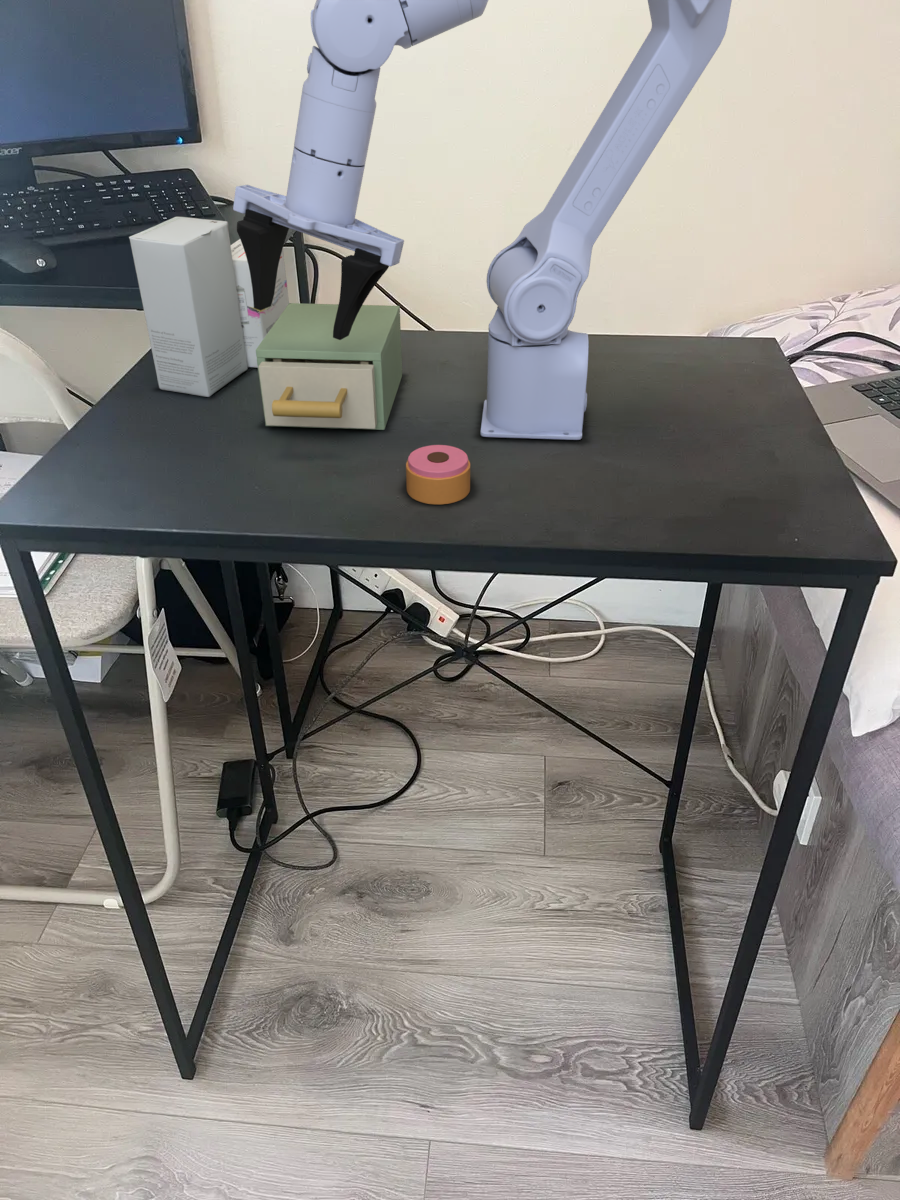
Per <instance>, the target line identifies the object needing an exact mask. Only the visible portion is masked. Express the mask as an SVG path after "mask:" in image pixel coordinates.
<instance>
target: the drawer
mask: <svg viewBox="0 0 900 1200" xmlns="http://www.w3.org/2000/svg"><path fill="white" fill-rule="evenodd" d="M259 374H260V380H259V383H260V382H261V388H260V391H261V390H262V395H261V398H262V397H263V403H262V406H263V405H264V410H263V413H264V412H265V418H264V421H265V420H266V425H274V426H273V427H279V426H304V427H303V428H309V427H335V428H334V429H340V428H365V429H364V430H370V429H375V428H376V425H377V412H376V394H375V375H374V365H373V361H356V360H319V359H283V358H273V362H261V363H260V365H259V372H258V375H259ZM266 425H265V426H266Z"/></svg>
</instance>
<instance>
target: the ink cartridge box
mask: <svg viewBox="0 0 900 1200" xmlns="http://www.w3.org/2000/svg"><path fill="white" fill-rule="evenodd" d="M230 246H231V253H232V260H233V268H234V275H235V282H236V290H237V297H238V304H239V312H240V319H241V326H242V334H243V341H244V348H245V354H246V361H247V368H257V369H258V365H257V357H256V349H257V347H258V346H259V345H260V343H261V342H262V340H263V339H264V338H265V336H266V335H267V333H268V332H269V331H270V329H271V328H272V326H273V325H274V324H275V322H276V321H277V319H278V318H279V317H280V315H281V314H282V312H283V311H284V310H285V308H286V307H287V306H288V304H289V303H290V301H289V300H290V298H289V289H288V282H287V273H286V263H285V262H286V261H285V254H284V248H283V249H282V253H281V256H280V260H279V265H278V270H277V277H276V285H275V292H274V297H273V301H272V305H271V306H270V307H268V308H265V309H263V310H258V309H255V308H254V302H253V290H252V282H251V276H250V270H249V265H248V261H247V257H246V254H245V251H244V248H243V245H242V242H241V240H240V238H239V239H237V240H236V241H235V242H233V243H232V244H230Z"/></svg>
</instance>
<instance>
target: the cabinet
mask: <svg viewBox="0 0 900 1200" xmlns="http://www.w3.org/2000/svg"><path fill="white" fill-rule="evenodd" d="M338 305H339V303H299V302H297V303H296V302H295V303H294V302H289V304H288V306H287V307H286V308H285V310H284V311H283V312H282V314H281V315H280V317H279V318H278V319H277V321H276V322H275V324H274V325H273V326H272V328H271V329H270V331H269V332H268V333H267V335H266V336H265V338H264V339H263V340H262V342H261V343H260V345H259V346H258V347H257V349H256V357H257V365H258V368H257V372H258V379H259V380H258V381H259V387H260V394H261V401H262V410H263V417H264V425H265V427H275V426H274V425H266V420H265V412H264V405H263V397H262V390H261V382H260V374H259V365H260V363H261V362H273V358H283V359H319V360H356V361H373V365H374V375H375V394H376V412H377V425H376V428H375V429H369V430H373V431H377V430H378V431H384V430H386V426H387V423H388V420H389V417H390V414H391V411H392V408H393V405H394V401H395V399H396V397H397V393H398V390H399V387H400V384H401V380H402V378H403V359H402V358H403V357H402V356H403V355H402V332H401V330H402V327H401V306H400V305H385V304H384V305H383V304H381V305H379V304H363V305H362V307H361V308H360V310H359V312H358V314H357V316H356V319H355V321H354V323H353V325H352V328H351V331H350V334H349V336H347V337H345V338H343V339H342V340H338V339H335V338H333V329H334V323H335V319H336V314H337V310H338ZM278 427H280V428H281V427H282V428H286V427H287V428H305V427H304V426H278ZM308 428H312V429H313V428H315V429H336V428H335V427H308ZM339 429H342V430H343V429H344V430H345V429H346V430H366V429H365V428H339Z"/></svg>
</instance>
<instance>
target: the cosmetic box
mask: <svg viewBox="0 0 900 1200" xmlns="http://www.w3.org/2000/svg"><path fill="white" fill-rule="evenodd" d="M128 239H129V244H130V248H131V253H132V257H133V263H134V268H135V273H136V278H137V283H138V288H139V293H140V297H141V303H142V310H143V313H144V318H145V324H146V328H147V333H148V337H149V343H150V344H149V345H150V349H151V354H152V358H153V363H154V369H155V375H156V378H157V379H156V380H157V384H158V389H159V390H162V391H169V392H176V393H181V394H187V395H188V394H189V395H194V396H198V397H199V396H200V397H207V398H209V397H211V396H213V395H214V394H215V393H216V392H218V391H219V390H221V389H222V388H223V387H225V386H227V384H229V383H230V382H232V381H233V380H234V379H237V377H239V376H241V374H243V373H245V372H246V371H247V370H248V368H249V367H247V361H246V354H245V348H244V341H243V334H242V326H241V319H240V312H239V304H238V297H237V290H236V282H235V275H234V268H233V260H232V253H231V246H230V245H231V239H230V232H229V222H228V220H227V221H226V220H217V219H207V218H206V219H205V218H197V217H187V216H174V217H172V218H170V219H167V220H165V221H162V222H161V223H158V224H156V225H153V226H151V227H149V228H147V229H144V230H142V231H140V232H138V233H135V234H133V235H129V236H128Z"/></svg>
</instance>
